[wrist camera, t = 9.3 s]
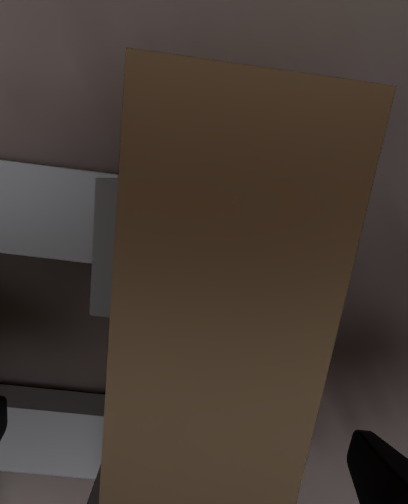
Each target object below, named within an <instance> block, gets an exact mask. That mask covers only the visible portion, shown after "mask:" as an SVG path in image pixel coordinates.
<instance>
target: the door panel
mask: <svg viewBox="0 0 408 504" xmlns="http://www.w3.org/2000/svg"><path fill="white" fill-rule="evenodd" d="M395 90H396V86H394V85H387V84H380V83H373V82H366V81H359V80H352V79H345V78H338V77H331V76H324V75H317V74H310V73H303V72H295V71H288V70H281V69H274V68H267V67H260V66H253V65H246V64H239V63H232V62H225V61H218V60H211V59H204V58H197V57H190V56H183V55H175V54H168V53H161V52H154V51H147V50H140V49H133V48H126V55H125V72H124V89H123V106H122V122H121V139H120V156H119V173H118V189H117V206H116V223H115V240H114V256H113V273H112V290H111V307H110V324H109V340H108V357H107V374H106V391H105V407H104V424H103V441H102V458H101V474H100V491H99V504H296V502H297V498H298V494H299V489H300V485H301V481H302V477H303V473H304V469H305V465H306V460H307V456H308V452H309V448H310V444H311V440H312V435H313V431H314V427H315V423H316V419H317V415H318V410H319V406H320V402H321V398H322V394H323V390H324V386H325V381H326V377H327V373H328V369H329V365H330V361H331V356H332V352H333V348H334V344H335V340H336V336H337V331H338V327H339V323H340V319H341V315H342V311H343V307H344V302H345V298H346V294H347V290H348V286H349V282H350V277H351V273H352V269H353V265H354V261H355V257H356V252H357V248H358V244H359V240H360V236H361V232H362V228H363V223H364V219H365V215H366V211H367V207H368V203H369V198H370V194H371V190H372V186H373V182H374V178H375V173H376V169H377V165H378V161H379V157H380V153H381V149H382V144H383V140H384V136H385V132H386V128H387V124H388V119H389V115H390V111H391V107H392V103H393V99H394V94H395Z"/></svg>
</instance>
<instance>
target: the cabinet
mask: <svg viewBox="0 0 408 504" xmlns="http://www.w3.org/2000/svg"><path fill="white" fill-rule="evenodd" d="M117 189H118V174H112V173H104V172H96V171H88V170H81V169H73V168H65V167H57V166H49V165H41V164H33V163H25V162H17V161H10V160H2V159H0V253H5V254H14V255H22V256H31V257H40V258H48V259H57V260H66V261H74V262H83V263H92V269H91V291H90V314H89V315H90V316H99V317H108V318H110V307H111V290H112V273H113V256H114V240H115V223H116V206H117ZM0 395H4V396H5V397H6V398H7V416H8V423H7V428H6V431H5V434H4V436H3V437H2V439H1V441H0V471H8V472H19V473H31V474H42V475H53V476H64V477H76V478H87V479H95V482H94V485H93V488H92V491H91V494H90V497H89V499H88V502H87V504H99V491H100V474H101V458H102V441H103V424H104V407H105V395H104V394H94V393H84V392H74V391H63V390H53V389H43V388H33V387H23V386H13V385H3V384H0Z"/></svg>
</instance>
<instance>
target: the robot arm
mask: <svg viewBox="0 0 408 504" xmlns="http://www.w3.org/2000/svg"><path fill="white" fill-rule="evenodd" d="M7 423H8V416H7V398H6V397H5V396H4V395H0V441H1V439H2V437H3V436H4V434H5V431H6V428H7ZM347 464H348V468H349V471H350V474H351V477H352V481H353V484H354V487H355V490H356V493H357V497H358V500H359V503H360V504H408V459H407V458H406V457H405V456H403V455H402V454H401V453H399V452H398V451H397V450H395V449H394V448H393V447H391V446H390V445H389V444H388V443H386V442H385V441H384V440H382V439H381V438H380V437H378V436H377V435H376V434H374V433H373V432H371V431H365V430H355V431H354V432H353V435H352V439H351V442H350V446H349V449H348V453H347Z"/></svg>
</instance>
